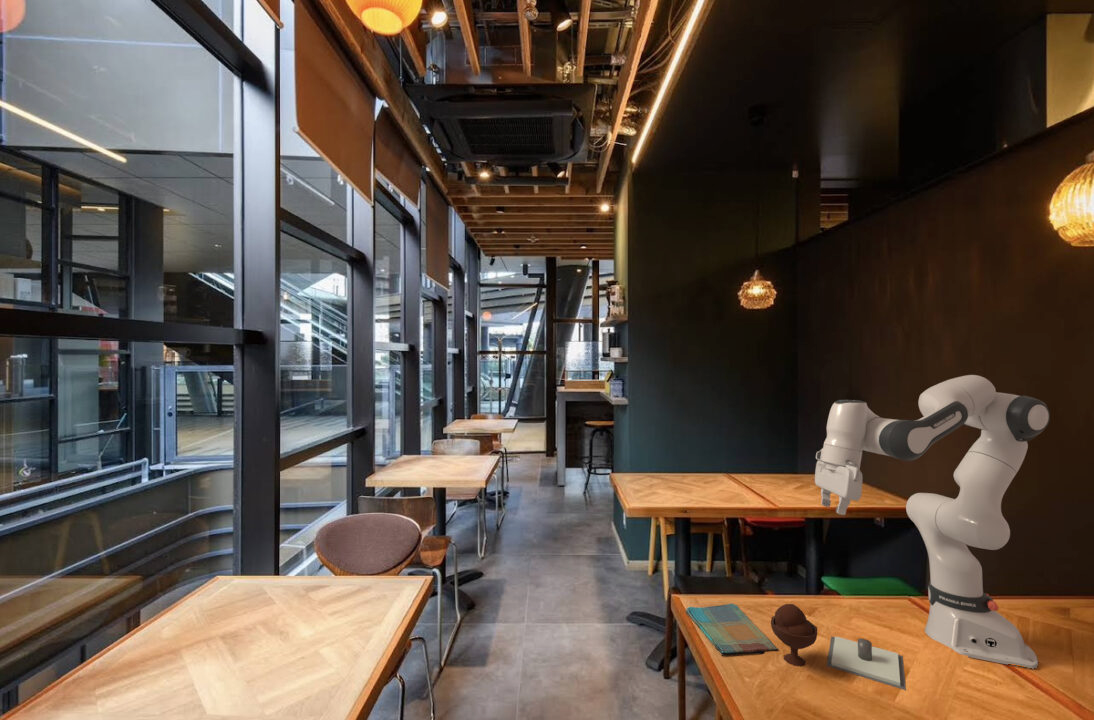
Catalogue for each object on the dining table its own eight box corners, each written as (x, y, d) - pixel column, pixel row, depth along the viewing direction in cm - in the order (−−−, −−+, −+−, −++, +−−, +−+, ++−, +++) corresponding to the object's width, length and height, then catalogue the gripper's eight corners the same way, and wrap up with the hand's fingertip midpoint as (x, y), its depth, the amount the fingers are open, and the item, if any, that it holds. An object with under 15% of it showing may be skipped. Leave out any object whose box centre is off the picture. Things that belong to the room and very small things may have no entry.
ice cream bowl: (826, 677, 114) (824, 616, 114) (777, 672, 116) (776, 611, 116) (810, 652, 124) (809, 595, 124) (766, 647, 126) (764, 592, 127)
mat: (902, 657, 121) (902, 655, 121) (905, 692, 108) (905, 690, 108) (831, 637, 131) (831, 636, 131) (826, 667, 117) (826, 665, 118)
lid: (897, 656, 121) (897, 637, 121) (900, 686, 110) (899, 665, 110) (835, 639, 129) (834, 621, 129) (831, 665, 118) (830, 645, 118)
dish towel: (736, 610, 147) (736, 602, 147) (781, 654, 124) (781, 645, 124) (684, 613, 146) (684, 605, 146) (720, 659, 122) (720, 649, 122)
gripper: (873, 466, 113) (864, 522, 112) (837, 457, 133) (829, 504, 132) (845, 460, 114) (836, 516, 113) (813, 452, 134) (806, 499, 133)
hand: (832, 510), depth 123 cm, fingers open, 8 cm apart
